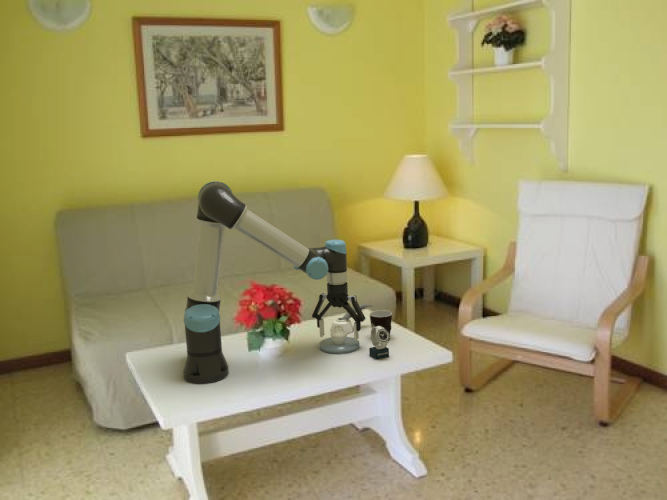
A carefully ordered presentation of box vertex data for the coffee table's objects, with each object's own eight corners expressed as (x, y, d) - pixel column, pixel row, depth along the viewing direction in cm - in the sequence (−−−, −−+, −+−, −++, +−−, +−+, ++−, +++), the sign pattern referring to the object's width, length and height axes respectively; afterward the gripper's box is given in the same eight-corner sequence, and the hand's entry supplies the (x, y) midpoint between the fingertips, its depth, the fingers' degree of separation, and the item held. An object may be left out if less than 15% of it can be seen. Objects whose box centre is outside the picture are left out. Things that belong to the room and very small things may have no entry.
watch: (378, 361, 244) (378, 331, 241) (366, 354, 251) (366, 325, 248) (392, 358, 246) (391, 328, 244) (380, 351, 253) (379, 322, 251)
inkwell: (327, 329, 280) (326, 305, 278) (368, 322, 287) (367, 299, 285) (335, 335, 272) (334, 311, 270) (377, 329, 278) (376, 305, 276)
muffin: (349, 344, 257) (349, 326, 256) (333, 347, 255) (333, 328, 254) (344, 339, 263) (343, 321, 261) (328, 341, 261) (328, 323, 260)
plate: (329, 356, 250) (329, 353, 249) (313, 344, 263) (313, 340, 263) (366, 349, 256) (366, 345, 255) (349, 337, 269) (348, 334, 269)
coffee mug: (369, 335, 271) (369, 310, 269) (392, 334, 271) (391, 310, 269) (370, 345, 260) (369, 319, 258) (393, 344, 260) (393, 319, 257)
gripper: (372, 281, 253) (374, 337, 258) (309, 277, 262) (312, 331, 266) (366, 286, 246) (367, 343, 251) (301, 282, 255) (304, 337, 260)
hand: (339, 337), depth 259 cm, fingers open, 13 cm apart
